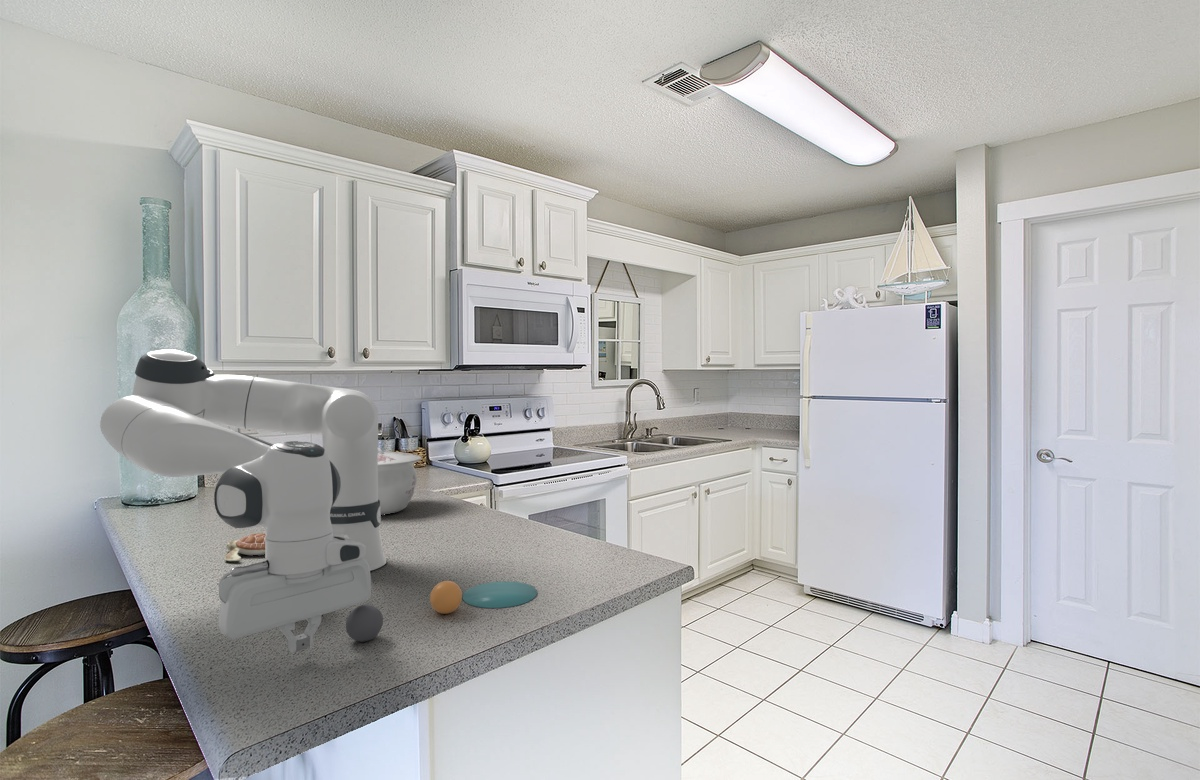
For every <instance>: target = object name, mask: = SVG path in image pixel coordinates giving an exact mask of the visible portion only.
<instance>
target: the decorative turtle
mask: <svg viewBox="0 0 1200 780" xmlns="http://www.w3.org/2000/svg"><path fill="white" fill-rule="evenodd" d="M265 536H266V533H262V532H261V533H252V534H248V535H247V536H244V537H242V538H241V539H238V540H236V539H234V540H231V541H228V543H227V544H226V549H227V551H229V552H228V553H226V554H225V556H224V560H225V561H226V562H227V561H228V562H239V561H241V560H242V557H241V556H240V555H239V554H241V555H247V556H253V555H258V556H265V555H264V554H265Z"/></svg>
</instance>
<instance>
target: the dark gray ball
mask: <svg viewBox="0 0 1200 780" xmlns="http://www.w3.org/2000/svg"><path fill="white" fill-rule="evenodd" d="M383 625H384V616H383V613H382V612H381V610H380V609H379V608H378V607H377V606H375V605H373V604H371V603H368V604H367V603H365V604H364V603H363V604H359V605H358V606H356V607H354V608H353V609H352V610H351V611H350V612H349V614H348V615H347V617H346V621H345V630H346V633H347V635H348V636H349V637H350V639H352V640H353V641H356V642H367V641H370V640H372V639H374V638H375V637H377V636H378V634H379V633H380V632H381V630H382V628H383Z"/></svg>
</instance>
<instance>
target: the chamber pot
mask: <svg viewBox="0 0 1200 780" xmlns="http://www.w3.org/2000/svg"><path fill="white" fill-rule="evenodd" d="M422 458H423V457H422V456H420V455H417V454H414V453H408V452H399V451H397V452H395V451H383V450H382V448H380V447H379V446H378V499H379V500H380V506H381V515H384V514H390V513H394V514H396V513H397V512H400V511H402V510H404V509H406V508H407V506H408V505H409V503H410V502H411V500H412V497H413V496H414V495H415V492H416V488H417V484H418V471H417V470H416V468H415V466H414V465H415V463H417V462H420V461H421V460H423V459H422ZM395 512H396V513H395ZM390 515H391V514H390ZM384 516H385V515H384Z"/></svg>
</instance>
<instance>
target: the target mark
mask: <svg viewBox="0 0 1200 780" xmlns="http://www.w3.org/2000/svg"><path fill="white" fill-rule="evenodd" d="M537 595H538V591H537V589H536V587H534V586H533V585H531V584H527V583H525V582H520V581H519V582H518V581H505V580H504V581H493V582H492V581H491V582H486V583H481V584H478V585H477V584H476V585H475V586H472V587H470V588H468V589H467V590H466V591H464V592H463V593H462V601H463V602H464V603H465V604H467V605H470V606H472V607H477V608H483V609H504V608H511V607H516V606H521V605H523V604H527V603H528V602H530V601H533V600H534V599H535V598H536V597H537Z"/></svg>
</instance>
